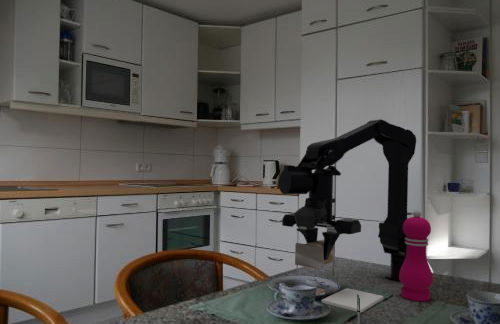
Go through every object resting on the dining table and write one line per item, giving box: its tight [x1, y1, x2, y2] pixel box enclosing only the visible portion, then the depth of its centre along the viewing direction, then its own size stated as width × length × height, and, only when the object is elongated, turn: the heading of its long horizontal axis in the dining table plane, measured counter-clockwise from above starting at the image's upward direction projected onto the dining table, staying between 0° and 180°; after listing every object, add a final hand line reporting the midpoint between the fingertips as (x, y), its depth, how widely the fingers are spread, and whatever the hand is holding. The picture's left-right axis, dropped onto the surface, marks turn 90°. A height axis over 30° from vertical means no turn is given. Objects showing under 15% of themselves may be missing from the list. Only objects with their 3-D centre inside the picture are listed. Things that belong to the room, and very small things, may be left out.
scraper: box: [294, 238, 335, 270], centre depth 99 cm, size 10×7×5 cm
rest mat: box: [321, 287, 384, 313], centre depth 91 cm, size 12×9×1 cm
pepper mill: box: [399, 209, 434, 302], centre depth 95 cm, size 7×7×20 cm
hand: (319, 258), depth 99 cm, fingers closed on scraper, 3 cm apart
